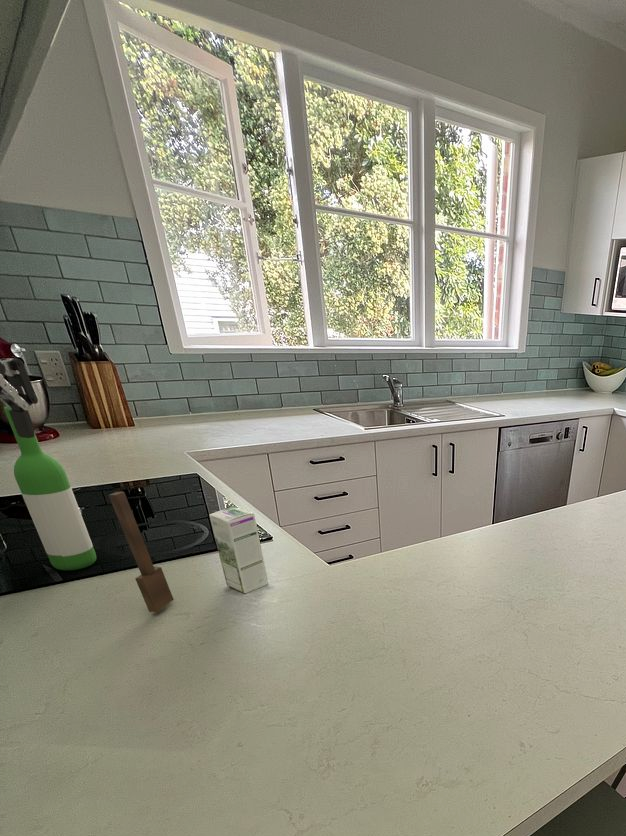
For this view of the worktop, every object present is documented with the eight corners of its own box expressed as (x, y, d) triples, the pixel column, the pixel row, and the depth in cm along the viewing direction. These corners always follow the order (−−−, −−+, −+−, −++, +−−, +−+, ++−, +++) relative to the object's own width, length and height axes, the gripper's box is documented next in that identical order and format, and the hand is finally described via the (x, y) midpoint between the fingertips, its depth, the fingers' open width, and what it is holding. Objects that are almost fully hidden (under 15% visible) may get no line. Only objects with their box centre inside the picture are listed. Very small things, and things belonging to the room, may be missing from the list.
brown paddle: (100, 497, 83) (108, 497, 83) (123, 489, 87) (130, 488, 87) (149, 611, 94) (156, 612, 94) (167, 599, 98) (173, 599, 98)
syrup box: (270, 584, 106) (256, 511, 98) (243, 594, 101) (226, 520, 94) (251, 576, 108) (236, 505, 101) (225, 586, 104) (207, 513, 96)
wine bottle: (70, 556, 114) (9, 402, 98) (106, 557, 114) (51, 403, 98) (43, 571, 107) (-27, 409, 91) (82, 573, 107) (18, 410, 91)
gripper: (-25, 309, 75) (21, 431, 84) (-140, 309, 63) (-72, 452, 72) (23, 313, 75) (65, 436, 83) (-84, 314, 63) (-22, 457, 71)
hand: (1, 443), depth 78 cm, fingers open, 8 cm apart
